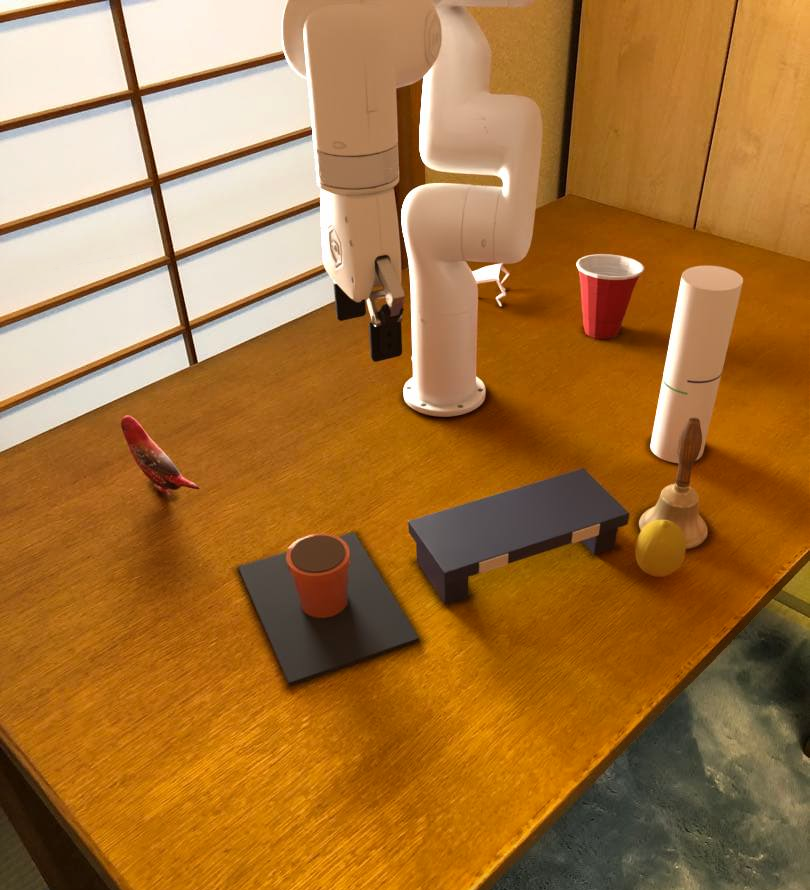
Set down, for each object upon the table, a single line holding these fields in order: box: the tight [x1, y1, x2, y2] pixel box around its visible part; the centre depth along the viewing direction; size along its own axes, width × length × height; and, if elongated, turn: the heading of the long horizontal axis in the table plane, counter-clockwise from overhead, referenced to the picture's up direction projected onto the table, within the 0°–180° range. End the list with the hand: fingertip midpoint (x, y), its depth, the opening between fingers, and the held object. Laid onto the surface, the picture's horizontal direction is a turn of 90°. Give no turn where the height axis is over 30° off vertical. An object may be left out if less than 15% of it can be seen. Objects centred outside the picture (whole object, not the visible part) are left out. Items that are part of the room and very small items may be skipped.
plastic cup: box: [575, 253, 645, 340], centre depth 145 cm, size 11×11×12 cm
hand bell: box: [638, 418, 709, 550], centre depth 104 cm, size 8×8×16 cm
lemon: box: [634, 519, 687, 578], centre depth 101 cm, size 6×6×8 cm
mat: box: [237, 531, 420, 687], centre depth 101 cm, size 20×15×1 cm
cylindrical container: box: [649, 265, 744, 464], centre depth 114 cm, size 7×7×25 cm
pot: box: [286, 533, 351, 618], centre depth 98 cm, size 7×7×7 cm
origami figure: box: [471, 263, 511, 307], centre depth 158 cm, size 12×8×5 cm
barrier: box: [407, 467, 630, 605], centre depth 104 cm, size 10×24×6 cm, turn 114°
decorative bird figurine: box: [120, 415, 201, 498], centre depth 114 cm, size 3×18×10 cm, turn 45°
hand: (368, 336), depth 90 cm, fingers open, 9 cm apart
